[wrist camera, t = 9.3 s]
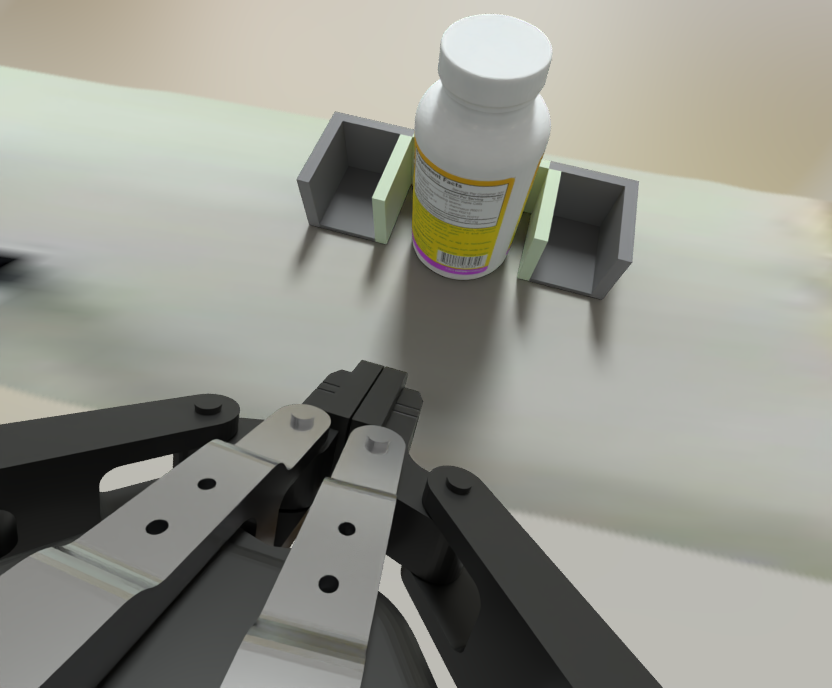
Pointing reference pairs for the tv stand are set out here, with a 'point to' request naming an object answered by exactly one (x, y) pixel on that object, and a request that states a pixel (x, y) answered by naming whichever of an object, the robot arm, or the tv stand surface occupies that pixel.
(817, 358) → the tv stand surface
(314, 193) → the bay rack
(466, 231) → the supplement bottle
